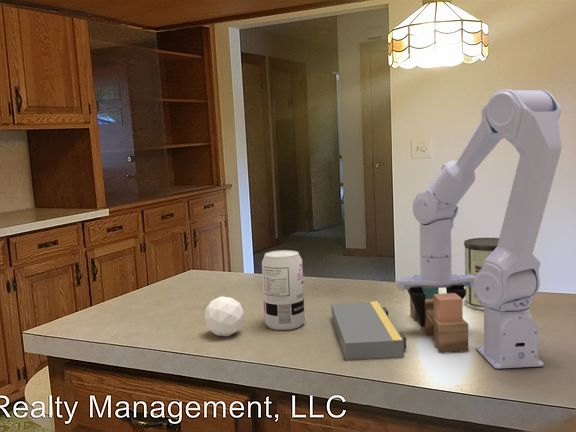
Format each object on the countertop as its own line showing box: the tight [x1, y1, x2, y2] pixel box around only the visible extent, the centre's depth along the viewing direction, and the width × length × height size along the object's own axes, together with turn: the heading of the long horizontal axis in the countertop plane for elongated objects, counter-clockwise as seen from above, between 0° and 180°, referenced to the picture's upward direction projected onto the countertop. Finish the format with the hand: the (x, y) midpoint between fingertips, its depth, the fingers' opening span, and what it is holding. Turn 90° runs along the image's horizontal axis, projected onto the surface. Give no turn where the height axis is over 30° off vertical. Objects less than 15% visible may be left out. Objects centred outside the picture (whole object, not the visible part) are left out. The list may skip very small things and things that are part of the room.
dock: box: [330, 300, 407, 361], centre depth 113 cm, size 24×11×3 cm, turn 1°
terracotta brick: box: [433, 292, 464, 322], centre depth 105 cm, size 4×4×4 cm
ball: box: [204, 295, 245, 337], centre depth 117 cm, size 8×8×8 cm
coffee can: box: [463, 237, 499, 311], centre depth 129 cm, size 10×10×14 cm
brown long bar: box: [409, 296, 469, 353], centre depth 113 cm, size 22×5×5 cm, turn 2°
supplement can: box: [261, 249, 306, 331], centre depth 121 cm, size 8×8×15 cm
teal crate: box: [413, 274, 440, 299], centre depth 120 cm, size 4×4×4 cm
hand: (436, 324), depth 113 cm, fingers closed on brown long bar, 5 cm apart
